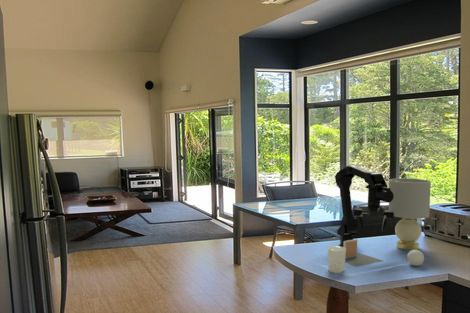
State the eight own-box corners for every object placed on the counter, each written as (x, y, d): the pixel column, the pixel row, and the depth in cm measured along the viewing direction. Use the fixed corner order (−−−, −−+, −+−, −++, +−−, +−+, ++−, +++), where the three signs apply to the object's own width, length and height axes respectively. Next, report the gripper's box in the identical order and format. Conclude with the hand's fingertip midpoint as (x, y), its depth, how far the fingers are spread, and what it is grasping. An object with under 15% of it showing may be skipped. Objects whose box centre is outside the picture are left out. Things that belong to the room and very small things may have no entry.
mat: (331, 259, 229) (331, 257, 229) (359, 254, 238) (359, 252, 238) (356, 267, 215) (356, 266, 215) (384, 262, 224) (384, 260, 224)
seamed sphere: (422, 263, 222) (422, 248, 222) (425, 268, 215) (426, 252, 215) (399, 262, 224) (399, 247, 224) (402, 267, 217) (402, 251, 216)
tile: (343, 257, 229) (343, 241, 229) (355, 255, 234) (355, 239, 233) (344, 258, 228) (345, 241, 228) (357, 256, 233) (357, 239, 232)
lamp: (383, 248, 249) (385, 180, 246) (392, 241, 266) (394, 177, 264) (424, 254, 238) (426, 183, 236) (431, 246, 255) (433, 179, 253)
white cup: (335, 274, 205) (335, 251, 205) (323, 269, 212) (323, 247, 211) (349, 272, 209) (349, 249, 208) (337, 267, 216) (338, 245, 215)
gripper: (354, 200, 226) (352, 233, 228) (395, 203, 222) (394, 236, 223) (354, 196, 237) (352, 227, 238) (393, 198, 232) (392, 230, 234)
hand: (372, 230), depth 233 cm, fingers open, 9 cm apart
